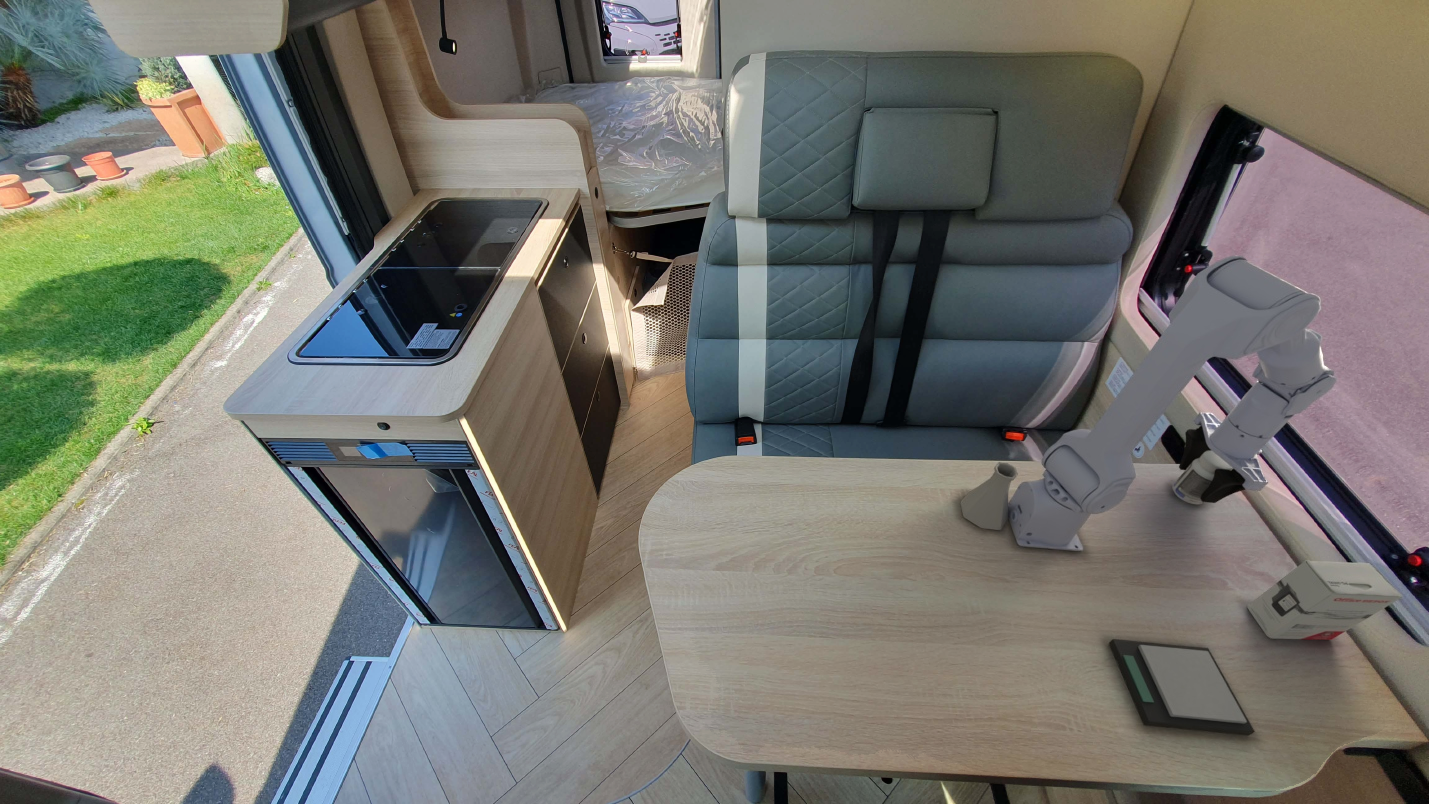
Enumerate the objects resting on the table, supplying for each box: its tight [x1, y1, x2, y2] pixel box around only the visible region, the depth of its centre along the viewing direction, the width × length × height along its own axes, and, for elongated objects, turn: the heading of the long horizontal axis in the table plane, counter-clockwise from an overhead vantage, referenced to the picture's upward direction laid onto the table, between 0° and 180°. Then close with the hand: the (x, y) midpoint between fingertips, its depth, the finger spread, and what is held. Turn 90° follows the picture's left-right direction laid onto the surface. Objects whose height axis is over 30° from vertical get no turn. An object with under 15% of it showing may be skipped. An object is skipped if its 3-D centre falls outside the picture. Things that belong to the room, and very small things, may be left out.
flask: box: [960, 461, 1019, 531], centre depth 88 cm, size 7×7×10 cm
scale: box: [1108, 638, 1256, 736], centre depth 71 cm, size 12×10×2 cm
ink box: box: [1246, 560, 1403, 641], centre depth 74 cm, size 9×5×12 cm, turn 88°
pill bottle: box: [1172, 450, 1233, 505], centre depth 92 cm, size 5×5×8 cm
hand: (1196, 484), depth 93 cm, fingers open, 6 cm apart
